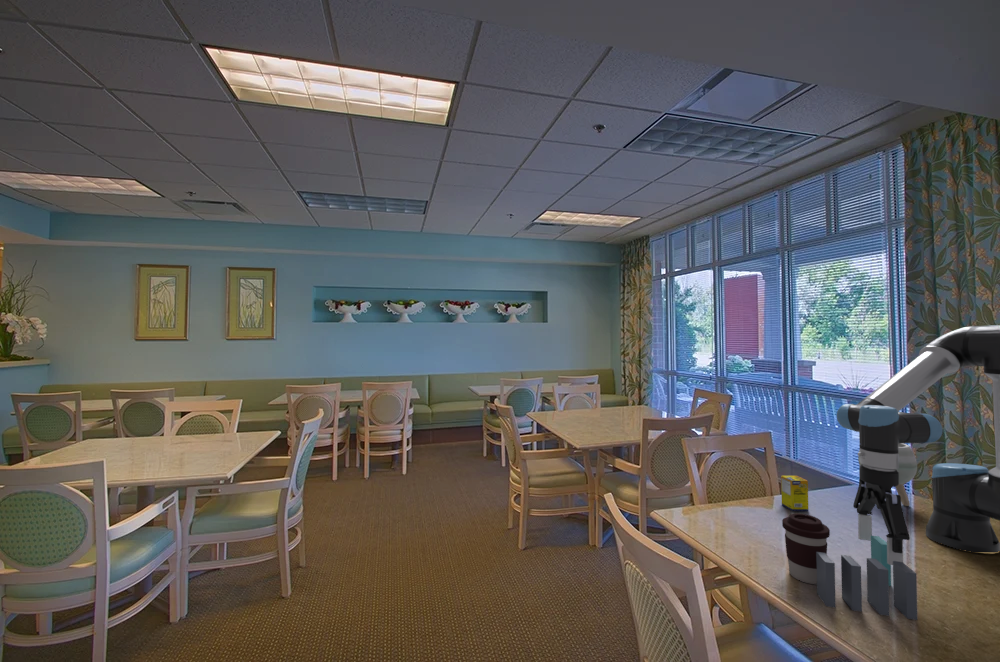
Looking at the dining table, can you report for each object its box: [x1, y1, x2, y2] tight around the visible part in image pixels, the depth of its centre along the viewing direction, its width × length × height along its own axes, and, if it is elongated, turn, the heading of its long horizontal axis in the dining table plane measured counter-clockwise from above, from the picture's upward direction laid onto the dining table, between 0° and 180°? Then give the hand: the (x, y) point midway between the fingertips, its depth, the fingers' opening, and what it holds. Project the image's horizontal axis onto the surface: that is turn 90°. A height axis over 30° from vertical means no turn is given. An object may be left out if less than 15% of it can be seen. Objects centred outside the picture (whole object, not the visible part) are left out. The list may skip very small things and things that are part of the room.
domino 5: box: [892, 561, 918, 621], centre depth 96 cm, size 2×5×10 cm, turn 163°
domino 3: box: [870, 535, 892, 587], centre depth 109 cm, size 2×5×10 cm, turn 163°
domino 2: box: [840, 554, 863, 612], centre depth 99 cm, size 2×5×10 cm, turn 163°
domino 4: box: [866, 557, 890, 616], centre depth 97 cm, size 2×5×10 cm, turn 163°
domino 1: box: [816, 552, 837, 609], centre depth 100 cm, size 2×5×10 cm, turn 163°
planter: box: [857, 443, 918, 507], centre depth 158 cm, size 16×16×22 cm
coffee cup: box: [781, 512, 831, 585], centre depth 110 cm, size 10×10×15 cm
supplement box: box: [780, 475, 809, 512], centre depth 155 cm, size 6×6×11 cm
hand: (879, 551), depth 109 cm, fingers open, 13 cm apart
